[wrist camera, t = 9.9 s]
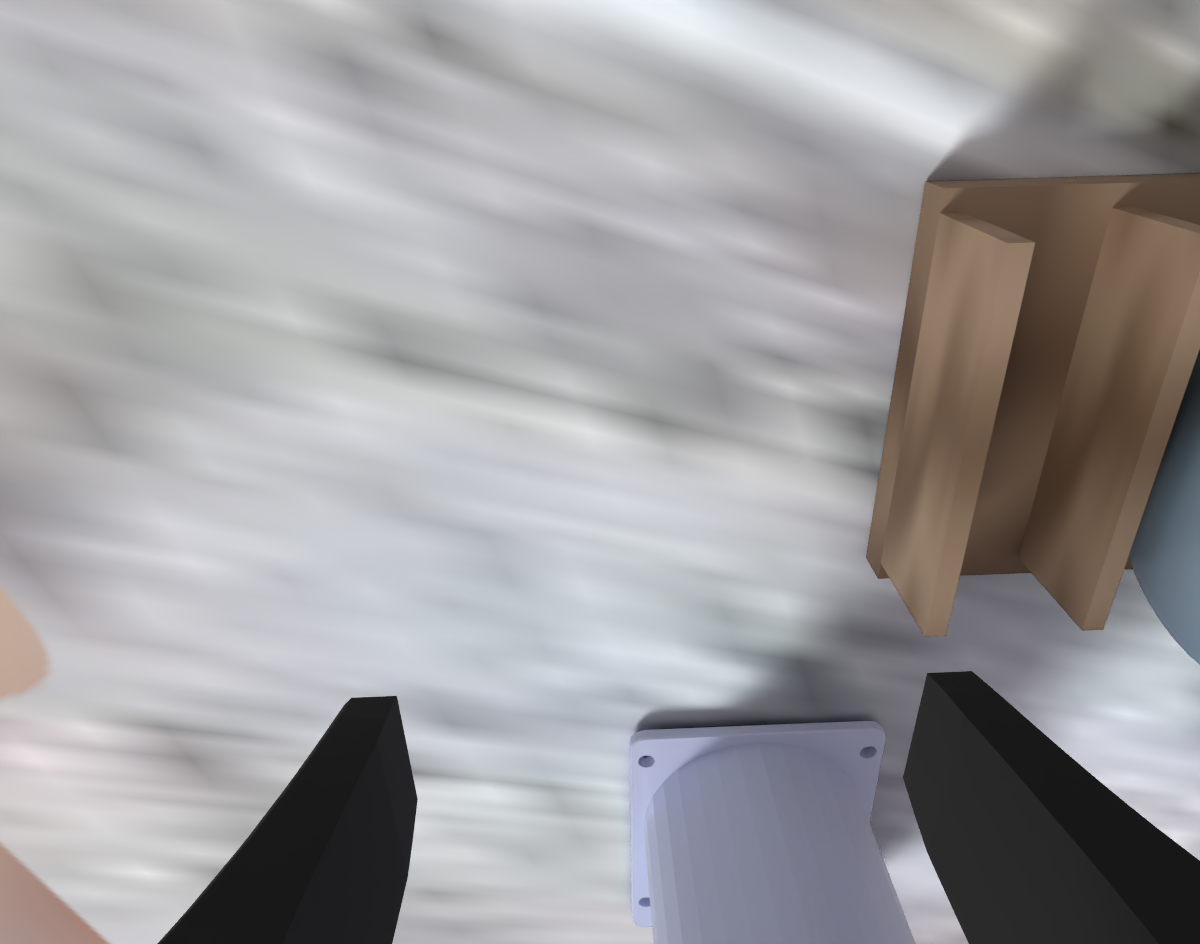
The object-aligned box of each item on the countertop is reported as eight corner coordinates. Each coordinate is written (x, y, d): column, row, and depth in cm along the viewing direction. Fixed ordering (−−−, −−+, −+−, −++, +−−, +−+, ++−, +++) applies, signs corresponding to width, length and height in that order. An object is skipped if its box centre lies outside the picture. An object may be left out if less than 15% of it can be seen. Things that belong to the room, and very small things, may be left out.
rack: (1275, 542, 22) (1405, 634, 19) (865, 557, 22) (920, 653, 19) (1441, 165, 18) (1656, 194, 14) (925, 181, 18) (1013, 214, 14)
